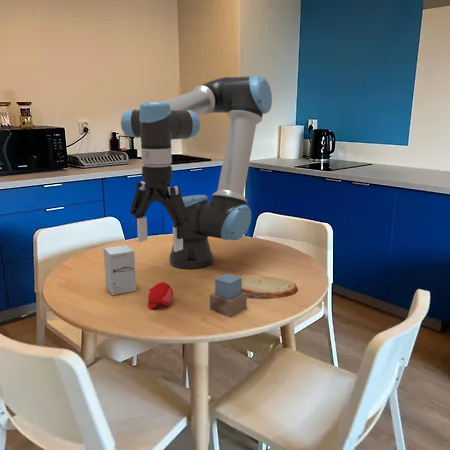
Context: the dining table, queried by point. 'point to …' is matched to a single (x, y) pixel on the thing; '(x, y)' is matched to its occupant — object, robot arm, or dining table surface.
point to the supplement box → (120, 269)
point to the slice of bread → (267, 287)
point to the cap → (160, 295)
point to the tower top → (228, 286)
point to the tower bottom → (228, 304)
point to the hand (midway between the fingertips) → (159, 245)
